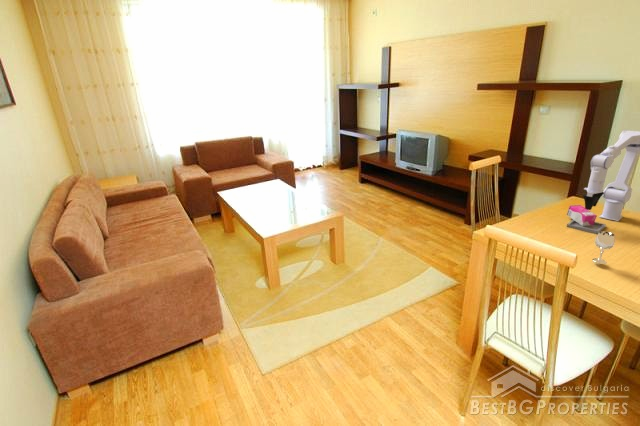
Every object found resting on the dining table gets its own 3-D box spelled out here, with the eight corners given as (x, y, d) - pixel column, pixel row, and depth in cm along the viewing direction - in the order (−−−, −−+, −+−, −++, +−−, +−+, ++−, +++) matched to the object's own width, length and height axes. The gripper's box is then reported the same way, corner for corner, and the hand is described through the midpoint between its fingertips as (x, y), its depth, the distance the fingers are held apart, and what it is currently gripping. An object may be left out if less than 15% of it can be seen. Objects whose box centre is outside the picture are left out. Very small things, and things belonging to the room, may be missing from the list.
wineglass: (586, 258, 138) (593, 231, 134) (599, 257, 138) (607, 230, 134) (598, 265, 133) (606, 237, 128) (612, 264, 133) (620, 236, 129)
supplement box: (577, 214, 177) (593, 225, 167) (566, 215, 177) (581, 226, 167) (581, 204, 174) (597, 215, 164) (569, 205, 174) (585, 216, 164)
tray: (574, 220, 176) (575, 217, 175) (605, 227, 166) (605, 224, 166) (566, 227, 168) (566, 224, 168) (597, 234, 159) (598, 231, 159)
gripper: (591, 176, 167) (585, 202, 171) (581, 181, 158) (575, 209, 163) (609, 178, 161) (602, 205, 166) (600, 184, 153) (593, 212, 157)
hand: (590, 207), depth 164 cm, fingers open, 7 cm apart
